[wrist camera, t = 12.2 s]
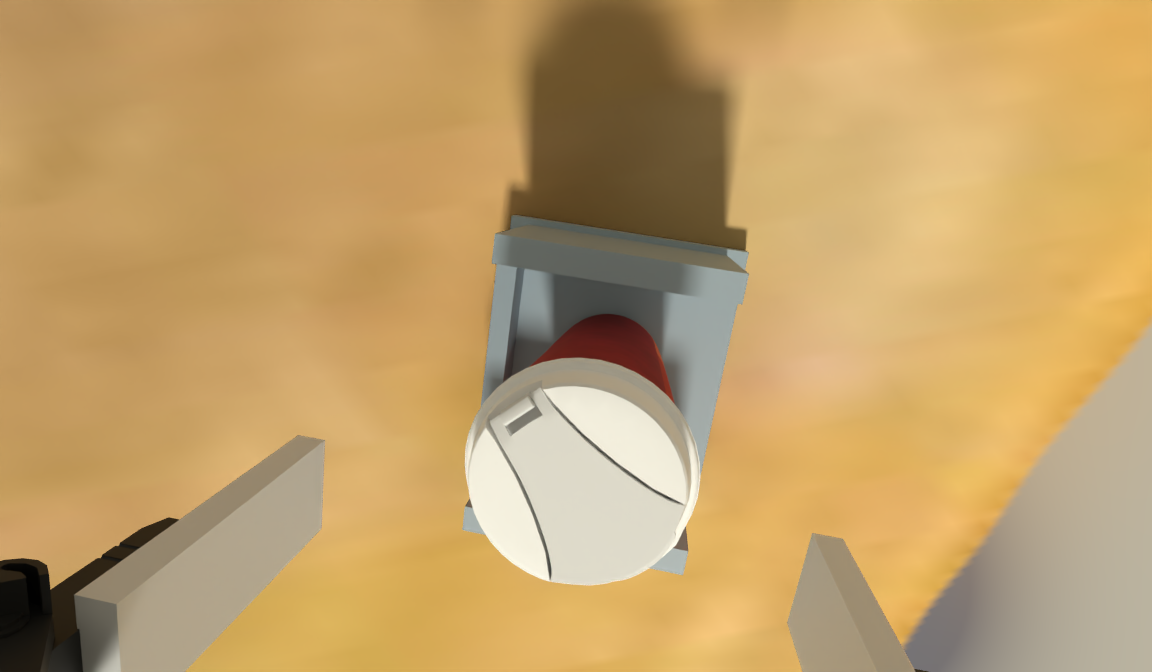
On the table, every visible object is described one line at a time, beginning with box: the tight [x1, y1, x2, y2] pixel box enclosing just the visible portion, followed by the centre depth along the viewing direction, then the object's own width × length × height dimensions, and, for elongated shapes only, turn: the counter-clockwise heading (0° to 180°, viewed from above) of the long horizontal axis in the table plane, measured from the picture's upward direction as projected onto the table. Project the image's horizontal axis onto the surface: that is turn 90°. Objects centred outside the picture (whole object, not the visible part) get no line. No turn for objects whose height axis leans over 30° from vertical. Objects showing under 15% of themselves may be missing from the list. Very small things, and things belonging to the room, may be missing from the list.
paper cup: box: [465, 314, 700, 585], centre depth 25 cm, size 8×8×14 cm
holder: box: [463, 215, 749, 575], centre depth 29 cm, size 14×12×8 cm
